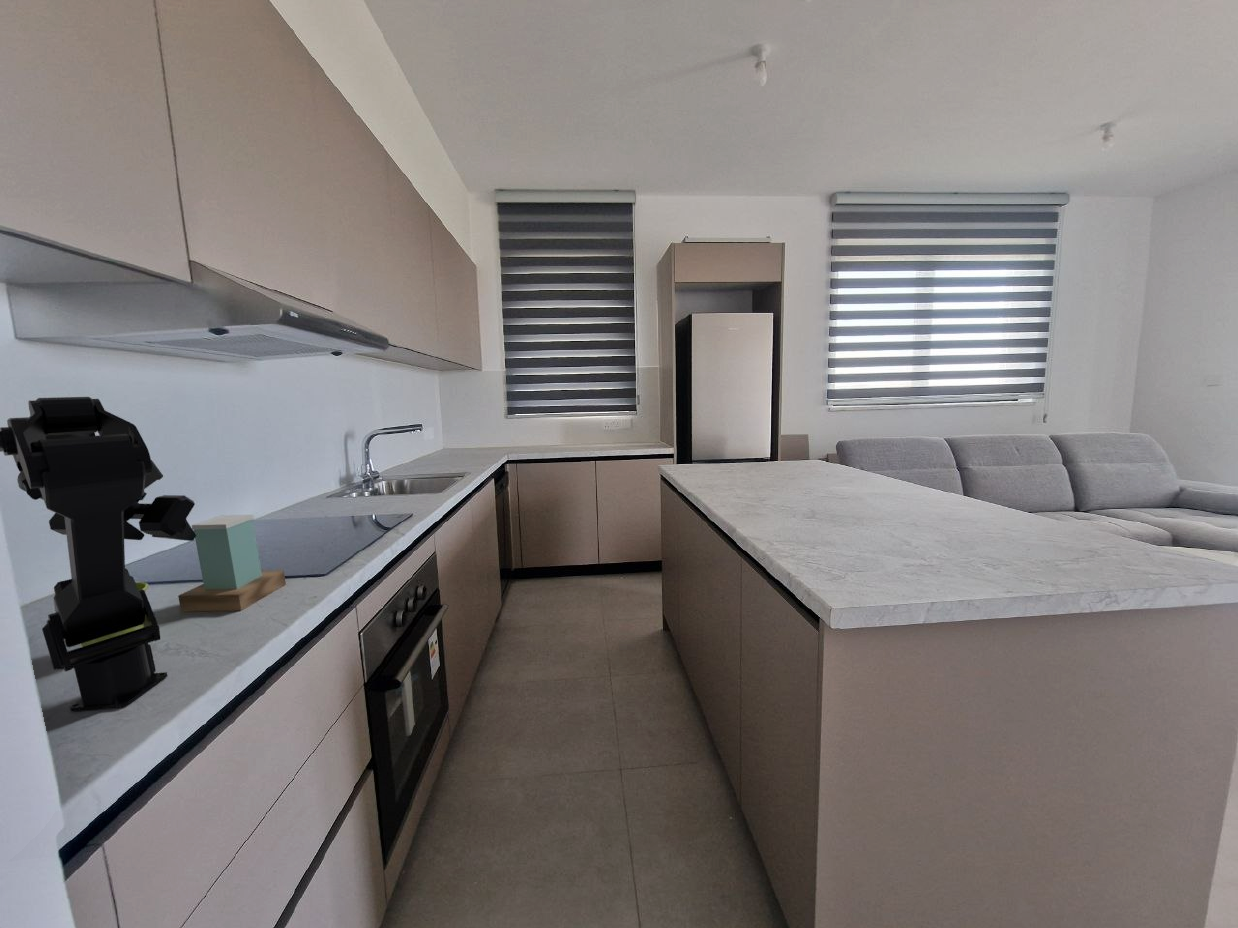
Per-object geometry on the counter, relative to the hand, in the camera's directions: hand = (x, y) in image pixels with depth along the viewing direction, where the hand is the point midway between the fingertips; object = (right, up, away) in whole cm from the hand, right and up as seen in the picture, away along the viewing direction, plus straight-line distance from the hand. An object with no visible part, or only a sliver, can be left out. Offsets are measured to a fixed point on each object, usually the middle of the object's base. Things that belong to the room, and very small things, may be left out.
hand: (168, 537), depth 79 cm
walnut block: (+4, -13, +9) cm, 16 cm away
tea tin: (+4, -10, +9) cm, 14 cm away
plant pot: (-1, -16, -7) cm, 18 cm away
